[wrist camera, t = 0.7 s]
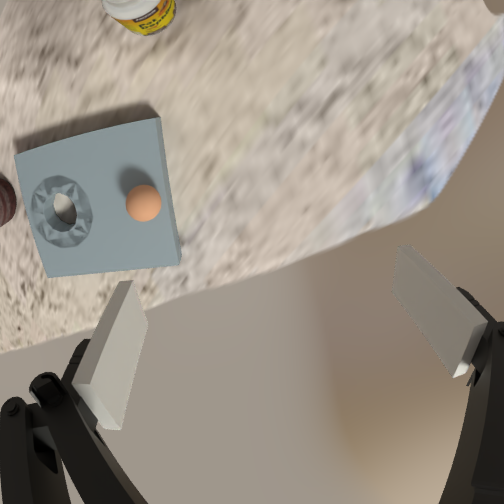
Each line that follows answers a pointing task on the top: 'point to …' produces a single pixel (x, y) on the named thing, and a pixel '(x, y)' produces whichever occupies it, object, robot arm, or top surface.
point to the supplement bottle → (142, 14)
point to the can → (6, 202)
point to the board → (100, 200)
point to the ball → (143, 203)
